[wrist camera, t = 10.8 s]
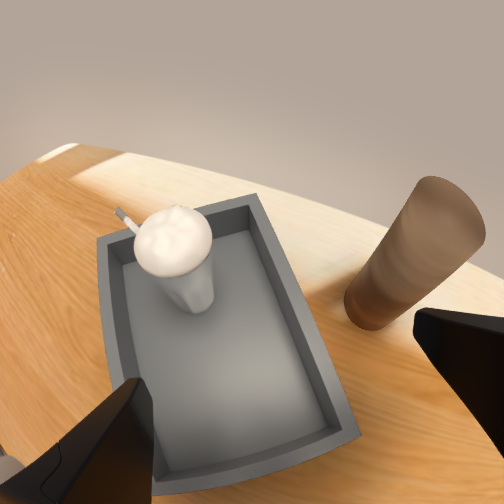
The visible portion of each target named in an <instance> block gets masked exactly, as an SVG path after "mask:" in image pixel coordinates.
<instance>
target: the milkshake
mask: <svg viewBox="0 0 504 504" xmlns="http://www.w3.org/2000/svg"><path fill="white" fill-rule="evenodd" d="M114 213H115V214H116V215H117V216H118V217H119V218H120V219H121V220H122V221H123V222H124V223H125V224H126V225H127V226H128V227H129V228H130V229H131V230H132V231H133V232H134V233H135V234H136V237H135V241H134V253H135V256H136V259H137V261H138V263H139V264H140V266H141V267H142V268H143V269H144V270H145V271H146V272H147V273H148V274H149V275H150V276H151V277H152V278H153V279H154V280H155V281H156V282H157V283H158V284H159V285H160V287H161V288H162V289H163V290H164V291H165V292H166V293H167V294H168V295H169V296H170V297H171V299H172V300H173V301H174V302H175V303H176V304H177V305H178V306H179V307H180V308H181V309H182V310H183V311H185V312H189V313H192V314H197V313H200V312H203V311H206V310H207V309H208V308H209V307H210V305H211V304H212V303H213V301H214V279H213V267H212V261H213V254H212V232H211V228H210V226H209V223H208V221H207V220H206V218H205V217H204V216H203V215H202V214H201V213H199V212H198V211H196V210H193V209H190V208H186V207H183V206H179V205H174V206H171V207H168V208H166V209H163V210H160V211H157V212H155V213H153V214H152V215H150V216H149V217H148V218H147V219H146V220H145V222H144V223H143V224H142V225H141V227H140V228H139V227H138V226H137V225H136V224H135V223H134V222H133V221H132V220H131V219H130V218H129V217H128V216H127V215H126V214H125V213H124V212H123V211H122V209H121V208H120V207H117V208H116V210H115V212H114Z"/></svg>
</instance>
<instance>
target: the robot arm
mask: <svg viewBox="0 0 504 504" xmlns="http://www.w3.org/2000/svg"><path fill="white" fill-rule="evenodd" d="M413 336H414V338H415V340H416V341H417V342H418V344H419V345H420V347H421V348H422V350H423V351H424V352H425V354H426V355H427V357H428V358H429V360H430V361H431V363H432V364H433V366H434V367H435V368H436V369H437V371H438V372H439V373H440V374H441V376H442V377H443V378H444V379H445V380H446V382H447V383H448V384H449V385H450V387H451V388H452V389H453V390H454V392H455V393H456V394H457V395H458V397H459V398H460V399H461V400H462V402H463V403H464V404H465V405H466V407H467V408H468V409H469V411H470V412H471V413H472V415H473V416H474V417H475V419H476V420H477V421H478V423H479V424H480V425H481V427H482V428H483V429H484V431H485V432H486V433H487V435H488V436H489V438H490V439H491V440H492V442H493V443H494V445H495V446H496V448H497V449H498V451H499V452H500V454H501V455H502V457H503V458H504V317H495V316H487V315H479V314H471V313H463V312H456V311H449V310H441V309H434V308H427V307H425V308H422V309H420V310H418V311H416V313H415V317H414V325H413ZM153 458H154V420H153V400H152V397H151V394H150V392H149V390H148V388H147V386H146V384H145V381H144V380H143V378H141V377H134V378H128V379H127V380H126V381H125V382H124V383H123V384H122V385H121V386H119V387H118V388H117V389H116V390H115V391H114V392H113V393H112V394H111V395H110V396H108V397H107V398H106V399H105V400H104V401H103V402H102V403H101V404H100V405H98V406H97V407H96V408H95V409H94V410H93V411H92V412H91V413H90V414H88V415H87V416H86V417H85V418H84V419H83V420H82V421H81V422H79V423H78V424H77V425H76V426H75V427H74V428H73V429H72V430H70V431H69V432H68V433H67V434H66V435H65V436H64V437H63V438H61V439H60V440H59V443H58V442H57V443H56V444H55V445H53V446H52V447H51V448H50V449H49V450H48V451H46V452H45V453H44V454H43V455H42V456H40V457H39V458H38V459H37V460H35V461H34V462H33V463H31V464H30V465H28V466H27V467H26V468H24V469H23V470H21V471H20V472H19V473H17V474H16V475H14V476H13V477H11V478H10V479H9V480H7V481H5V482H4V483H2V484H1V485H0V504H151V498H152V474H153Z"/></svg>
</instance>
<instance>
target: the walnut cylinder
mask: <svg viewBox="0 0 504 504" xmlns="http://www.w3.org/2000/svg"><path fill="white" fill-rule="evenodd" d="M485 235H486V233H485V225H484V222H483V219H482V216H481V214H480V212H479V210H478V209H477V207H476V205H475V204H474V203H473V201H472V200H471V199H470V198H469V197H468V195H467V194H466V193H465V192H464V191H462V190H461V189H460V188H459V187H457V186H456V185H455V184H453V183H451V182H449V181H448V180H445V179H443V178H440V177H436V176H427V177H424V178H422V179H421V180H419V182H418V183H417V185H416V187H415V188H414V190H413V192H412V193H411V195H410V197H409V198H408V200H407V202H406V203H405V205H404V207H403V209H402V210H401V211H400V213H399V215H398V216H397V218H396V219H395V221H394V223H393V224H392V226H391V227H390V229H389V230H388V232H387V233H386V235H385V236H384V238H383V239H382V241H381V242H380V244H379V245H378V247H377V248H376V250H375V251H374V252H373V254H372V255H371V257H370V258H369V260H368V261H367V262H366V264H365V265H364V267H363V268H362V269H361V271H360V272H359V274H358V275H357V276H356V278H355V279H354V280H353V282H352V283H351V284H350V286H349V287H348V289H347V291H346V293H345V297H344V305H345V310H346V312H347V314H348V316H349V318H350V319H351V320H352V322H353V323H355V324H356V325H357V326H359V327H360V328H362V329H365V330H378V329H381V328H383V327H385V326H386V325H387V324H389V323H390V322H392V321H393V320H395V319H396V318H397V317H399V316H400V315H401V314H403V313H404V312H405V311H407V310H408V309H409V308H411V307H412V306H413V305H415V304H416V303H417V302H419V301H420V300H421V299H422V298H424V297H425V296H426V295H427V294H429V293H430V292H431V291H432V290H434V289H435V288H436V287H437V286H438V285H440V284H441V283H442V282H443V281H444V280H446V279H447V278H448V277H449V276H450V275H451V274H452V273H454V272H455V271H456V270H457V269H458V268H459V267H460V266H461V265H462V264H463V263H465V262H466V261H467V260H468V259H469V258H470V257H471V256H472V255H473V254H474V253H475V252H476V251H477V250H478V249H479V248H480V247H481V246H482V245H483V243H484V241H485Z"/></svg>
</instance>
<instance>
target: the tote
mask: <svg viewBox="0 0 504 504" xmlns="http://www.w3.org/2000/svg"><path fill="white" fill-rule="evenodd" d="M193 210H196V211H198V212H199V213H201V214H202V215H203V216H204V217H205V218H206V220H207V221H208V223H209V226H210V228H211V232H212V254H213V261H212V267H213V279H214V301H213V303H212V304H211V305H210V307H209V308H208V309H207V310H206V311H203V312H200V313H197V314H192V313H189V312H185V311H183V310H182V309H181V308H180V307H179V306H178V305H177V304H176V303H175V302H174V301H173V300H172V299H171V297H170V296H169V295H168V294H167V293H166V292H165V291H164V290H163V289H162V288H161V287H160V285H159V284H158V283H157V282H156V281H155V280H154V279H153V278H152V277H151V276H150V275H149V274H148V273H147V272H146V271H145V270H144V269H143V268H142V267H141V266H140V264H139V263H138V261H137V259H136V256H135V253H134V241H135V237H136V234H135V233H134V232H133V231H132V230H131V229H130V228H126V229H123V230H120V231H117V232H114V233H111V234H108V235H105V236H102V237H99V238H97V271H98V289H99V302H100V312H101V322H102V330H103V337H104V344H105V351H106V357H107V363H108V368H109V373H110V378H111V383H112V388H113V392H114V391H115V390H116V389H117V388H118V387H119V386H121V385H122V384H123V383H124V382H125V381H126V380H127V379H128V378H134V377H141V378H143V380H144V381H145V384H146V386H147V388H148V390H149V392H150V394H151V397H152V400H153V420H154V458H153V474H152V496H161V495H172V494H180V493H188V492H194V491H201V490H206V489H212V488H217V487H222V486H226V485H231V484H235V483H239V482H243V481H247V480H251V479H254V478H258V477H261V476H265V475H268V474H271V473H274V472H277V471H280V470H283V469H286V468H289V467H292V466H294V465H297V464H300V463H302V462H305V461H308V460H310V459H313V458H315V457H317V456H320V455H322V454H324V453H327V452H329V451H331V450H333V449H335V448H338V447H340V446H342V445H344V444H346V443H348V442H350V441H352V440H354V439H356V438H358V437H360V436H362V435H361V433H360V430H359V427H358V425H357V422H356V420H355V417H354V415H353V412H352V410H351V407H350V405H349V402H348V400H347V397H346V395H345V392H344V390H343V387H342V385H341V382H340V380H339V377H338V375H337V373H336V370H335V368H334V365H333V363H332V361H331V358H330V356H329V353H328V351H327V349H326V346H325V344H324V342H323V339H322V337H321V335H320V332H319V330H318V328H317V325H316V323H315V321H314V318H313V316H312V314H311V311H310V309H309V307H308V305H307V302H306V300H305V298H304V295H303V293H302V291H301V289H300V286H299V284H298V282H297V280H296V278H295V275H294V273H293V271H292V269H291V266H290V264H289V262H288V260H287V258H286V256H285V253H284V251H283V249H282V247H281V245H280V242H279V240H278V238H277V236H276V234H275V232H274V230H273V227H272V225H271V223H270V221H269V219H268V217H267V215H266V213H265V210H264V208H263V206H262V204H261V202H260V200H259V198H258V196H257V194H256V193H254V194H250V195H246V196H242V197H238V198H234V199H229V200H226V201H222V202H218V203H214V204H210V205H206V206H202V207H199V208H195V209H193ZM141 225H142V224H139V225H137V226H138V227H139V228H140V227H141Z"/></svg>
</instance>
